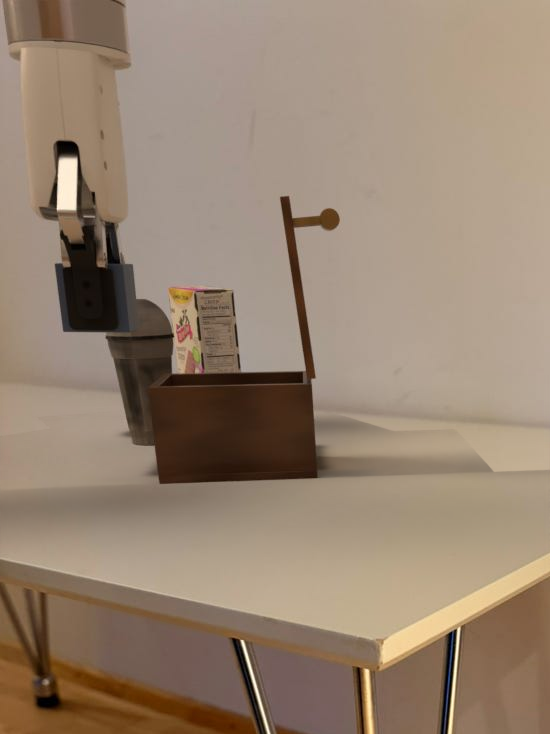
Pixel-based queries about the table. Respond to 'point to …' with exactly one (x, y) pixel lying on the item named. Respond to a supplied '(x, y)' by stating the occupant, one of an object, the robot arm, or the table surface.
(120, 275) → the block
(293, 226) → the lid
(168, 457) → the chest
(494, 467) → the table surface
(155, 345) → the beverage cup
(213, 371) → the candy bar box
